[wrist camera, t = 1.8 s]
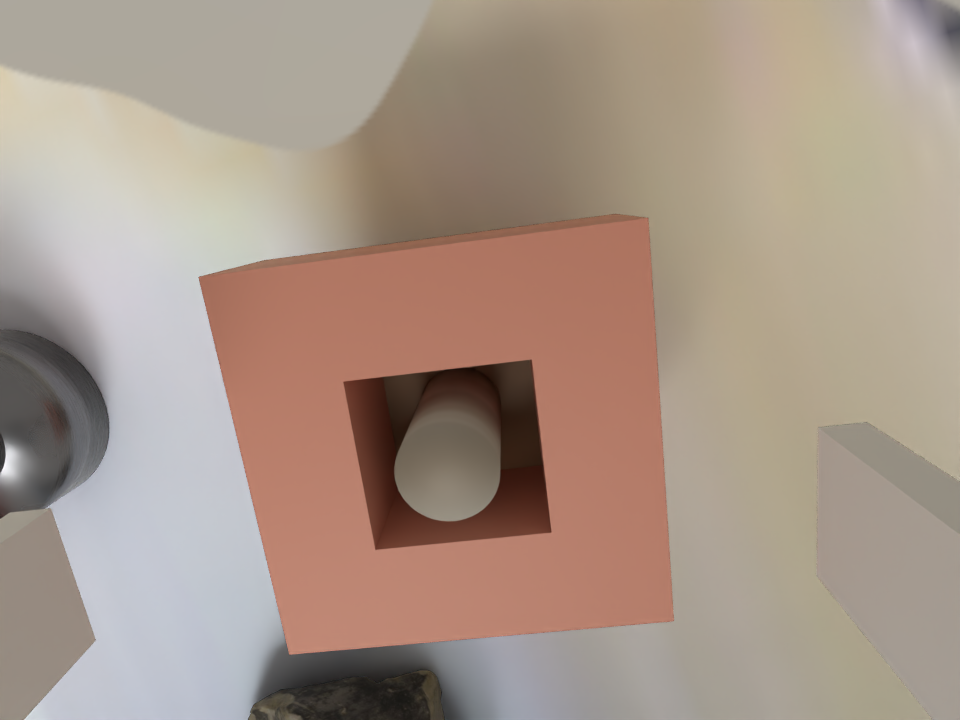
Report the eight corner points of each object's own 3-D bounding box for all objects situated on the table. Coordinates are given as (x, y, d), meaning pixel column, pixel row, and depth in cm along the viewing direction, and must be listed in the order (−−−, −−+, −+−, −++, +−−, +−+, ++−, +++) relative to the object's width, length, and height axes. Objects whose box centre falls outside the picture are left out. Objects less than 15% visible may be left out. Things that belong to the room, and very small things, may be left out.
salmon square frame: (640, 537, 20) (673, 620, 16) (330, 567, 20) (289, 654, 16) (616, 214, 17) (648, 218, 13) (264, 260, 18) (198, 276, 14)
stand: (571, 439, 24) (615, 594, 15) (394, 458, 25) (325, 620, 15) (553, 258, 22) (588, 301, 13) (363, 283, 23) (263, 341, 13)
